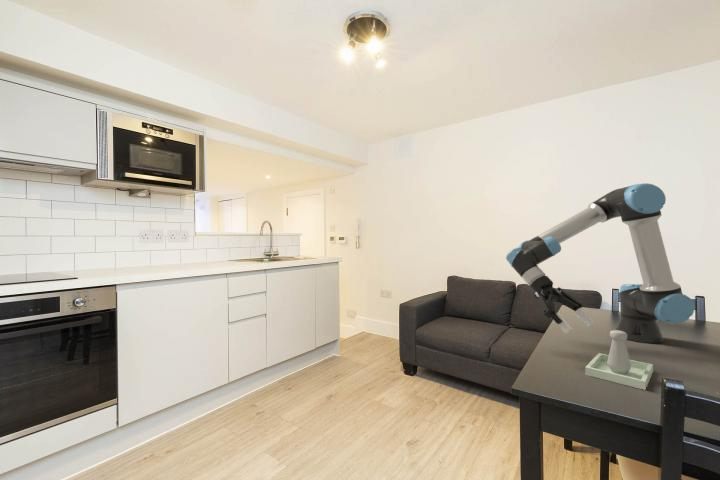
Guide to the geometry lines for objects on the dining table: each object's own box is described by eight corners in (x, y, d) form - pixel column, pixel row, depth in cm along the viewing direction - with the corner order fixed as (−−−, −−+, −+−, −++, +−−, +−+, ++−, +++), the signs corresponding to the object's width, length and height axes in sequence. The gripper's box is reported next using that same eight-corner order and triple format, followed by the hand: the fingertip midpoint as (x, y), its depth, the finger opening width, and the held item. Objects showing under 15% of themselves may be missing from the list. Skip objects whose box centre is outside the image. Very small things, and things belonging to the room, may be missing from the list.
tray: (598, 359, 110) (598, 352, 110) (653, 371, 99) (652, 364, 99) (585, 374, 98) (585, 367, 98) (645, 390, 87) (645, 381, 87)
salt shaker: (602, 368, 101) (601, 328, 101) (618, 367, 102) (618, 328, 102) (619, 376, 96) (618, 334, 96) (636, 375, 96) (635, 333, 96)
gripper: (550, 284, 130) (592, 328, 116) (510, 289, 119) (551, 339, 105) (563, 272, 125) (608, 317, 112) (522, 277, 114) (566, 327, 100)
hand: (580, 328), depth 108 cm, fingers open, 13 cm apart
